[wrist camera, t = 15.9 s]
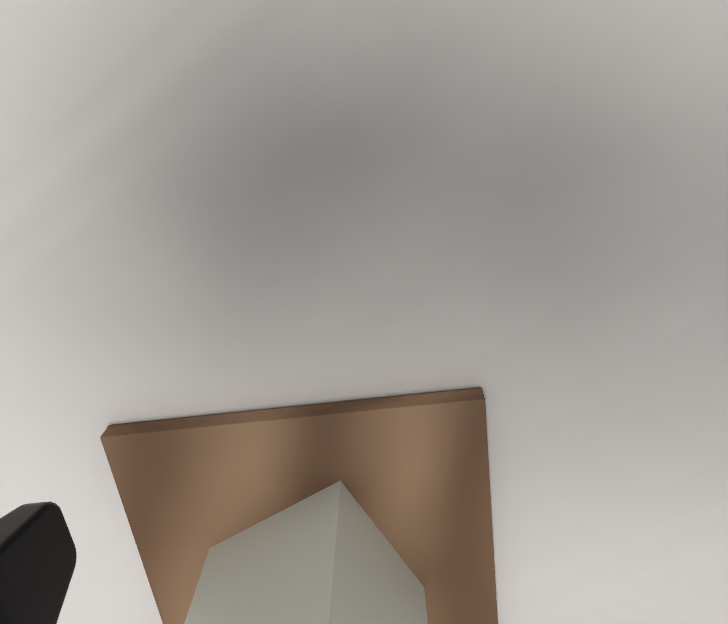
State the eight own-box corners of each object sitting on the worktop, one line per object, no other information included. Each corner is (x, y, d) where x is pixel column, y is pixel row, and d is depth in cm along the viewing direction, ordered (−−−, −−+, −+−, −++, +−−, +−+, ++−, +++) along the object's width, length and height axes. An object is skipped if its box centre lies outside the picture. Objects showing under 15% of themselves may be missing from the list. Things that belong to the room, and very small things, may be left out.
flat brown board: (481, 387, 22) (511, 480, 17) (497, 660, 27) (524, 790, 22) (108, 425, 23) (37, 523, 18) (193, 682, 28) (155, 812, 23)
